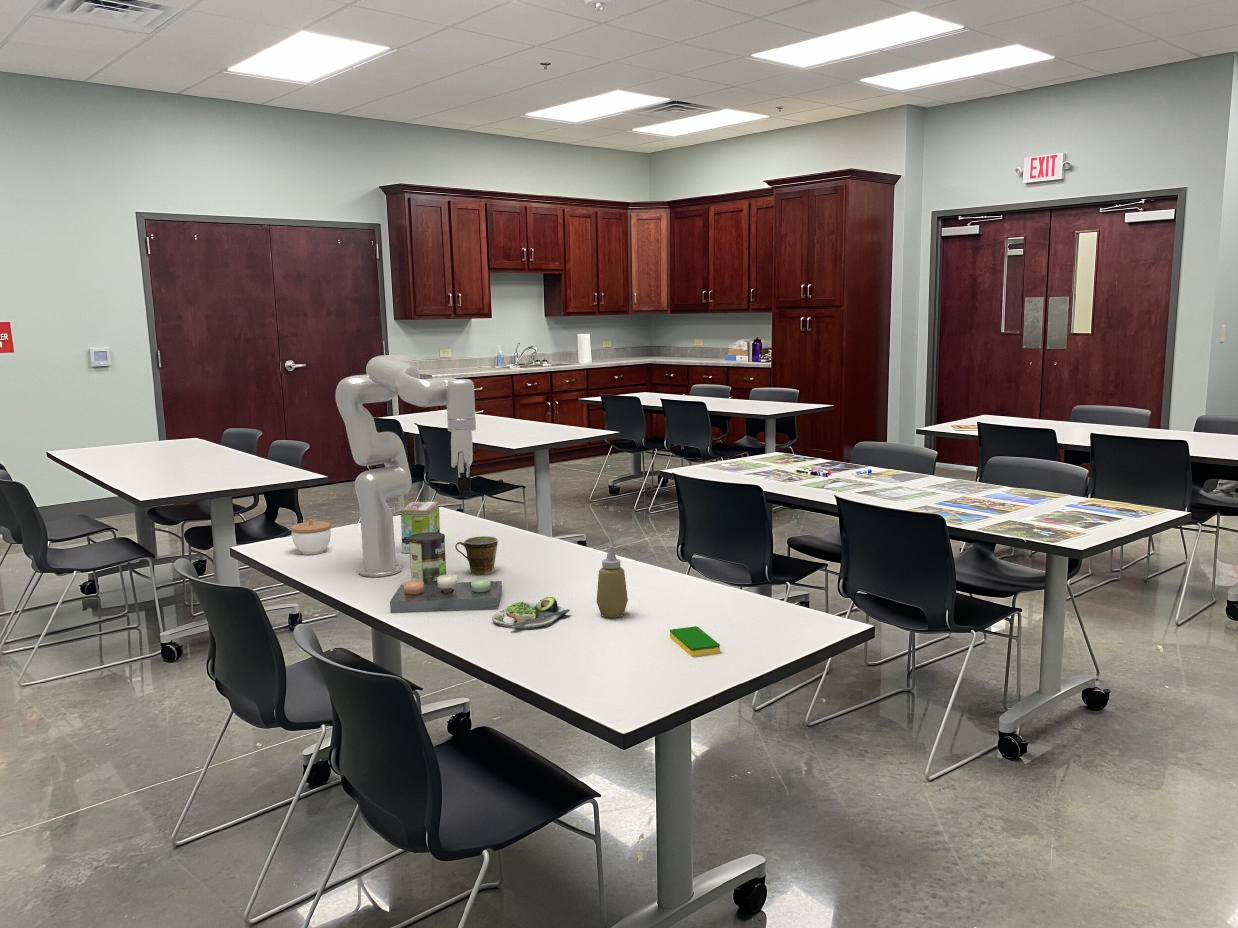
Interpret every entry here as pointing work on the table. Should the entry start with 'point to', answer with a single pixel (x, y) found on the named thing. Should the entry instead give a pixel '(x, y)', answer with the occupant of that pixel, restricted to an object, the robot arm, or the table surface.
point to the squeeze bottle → (611, 587)
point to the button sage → (480, 585)
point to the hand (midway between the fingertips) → (464, 491)
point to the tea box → (418, 521)
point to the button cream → (447, 582)
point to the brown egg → (414, 587)
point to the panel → (446, 598)
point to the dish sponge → (694, 641)
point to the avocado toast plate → (530, 614)
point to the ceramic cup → (480, 554)
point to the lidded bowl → (311, 536)
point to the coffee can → (427, 556)
